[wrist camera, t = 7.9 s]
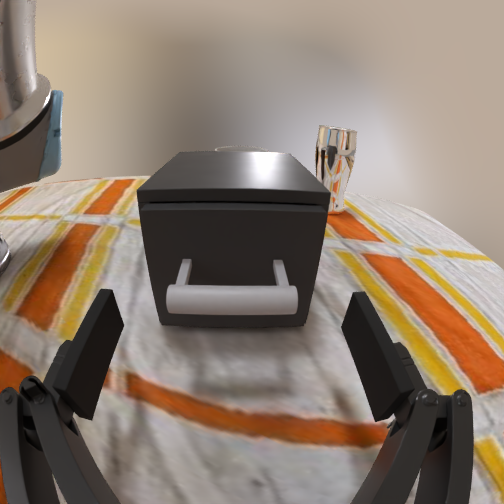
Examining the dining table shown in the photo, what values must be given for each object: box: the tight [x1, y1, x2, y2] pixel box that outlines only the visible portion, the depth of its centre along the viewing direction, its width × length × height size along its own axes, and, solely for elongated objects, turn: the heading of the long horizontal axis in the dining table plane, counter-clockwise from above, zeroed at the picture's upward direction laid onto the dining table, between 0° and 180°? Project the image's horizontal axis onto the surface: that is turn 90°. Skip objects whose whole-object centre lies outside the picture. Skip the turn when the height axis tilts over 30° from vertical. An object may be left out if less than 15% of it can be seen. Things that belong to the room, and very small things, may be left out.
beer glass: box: [315, 125, 357, 215], centre depth 45 cm, size 7×7×15 cm
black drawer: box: [141, 201, 326, 327], centre depth 22 cm, size 18×12×10 cm, turn 3°
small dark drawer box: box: [137, 151, 331, 323], centre depth 26 cm, size 15×13×12 cm
